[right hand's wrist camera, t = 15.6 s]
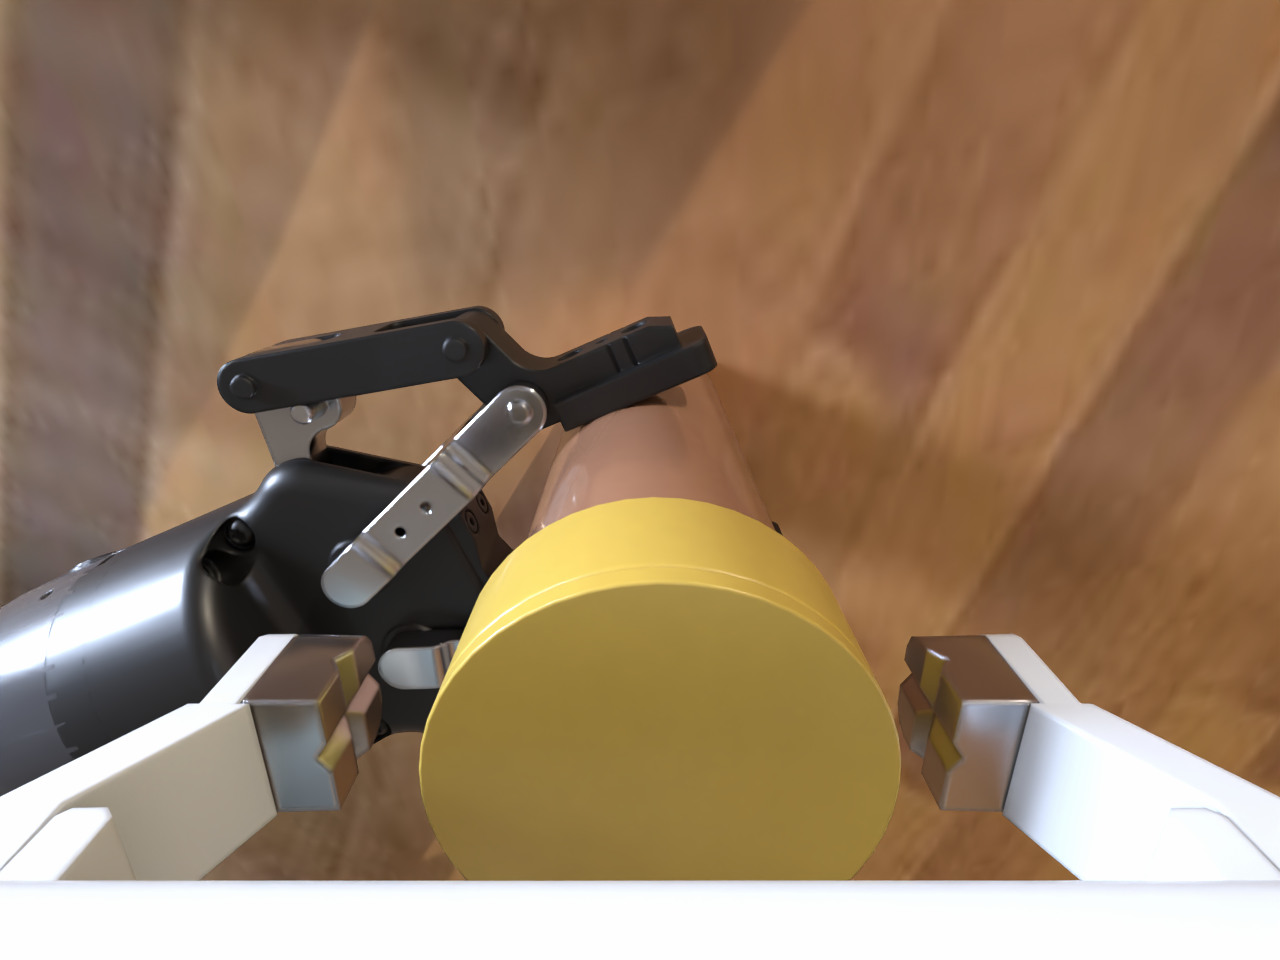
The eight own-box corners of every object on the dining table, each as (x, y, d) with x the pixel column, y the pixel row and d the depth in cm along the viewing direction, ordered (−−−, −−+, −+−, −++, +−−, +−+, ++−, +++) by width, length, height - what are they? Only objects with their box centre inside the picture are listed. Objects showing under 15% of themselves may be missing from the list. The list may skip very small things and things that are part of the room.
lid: (511, 831, 12) (481, 974, 10) (420, 526, 10) (355, 619, 7) (854, 792, 11) (905, 931, 9) (838, 467, 9) (898, 546, 7)
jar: (555, 363, 23) (404, 640, 8) (701, 325, 22) (820, 546, 8) (595, 497, 25) (532, 922, 10) (733, 465, 24) (877, 859, 10)
